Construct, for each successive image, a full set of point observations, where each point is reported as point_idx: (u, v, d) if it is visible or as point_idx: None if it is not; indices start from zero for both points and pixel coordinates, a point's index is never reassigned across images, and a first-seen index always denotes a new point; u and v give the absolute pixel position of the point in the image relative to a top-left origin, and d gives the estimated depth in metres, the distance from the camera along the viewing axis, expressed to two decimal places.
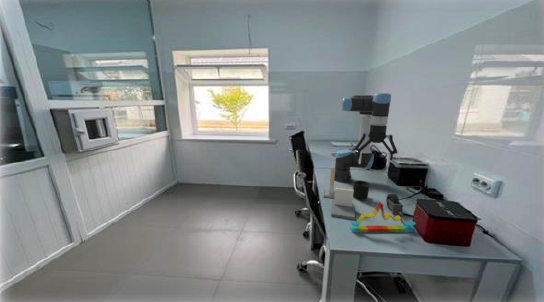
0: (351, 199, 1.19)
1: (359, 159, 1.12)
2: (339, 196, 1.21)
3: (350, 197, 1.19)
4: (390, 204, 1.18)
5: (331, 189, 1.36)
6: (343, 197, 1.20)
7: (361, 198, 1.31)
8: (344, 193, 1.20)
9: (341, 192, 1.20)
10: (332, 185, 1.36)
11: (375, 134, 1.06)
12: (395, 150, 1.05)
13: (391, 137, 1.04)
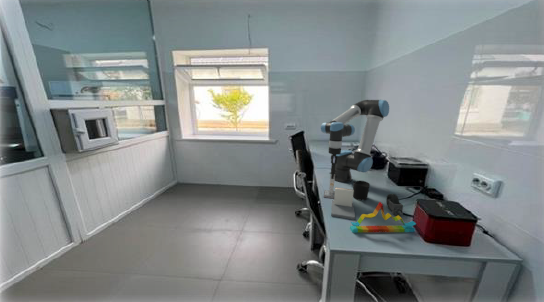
0: (351, 199, 1.19)
1: None
2: (339, 196, 1.21)
3: (350, 197, 1.19)
4: (390, 204, 1.18)
5: (331, 189, 1.36)
6: (343, 197, 1.20)
7: (361, 198, 1.31)
8: (344, 193, 1.20)
9: (341, 192, 1.20)
10: (332, 185, 1.36)
11: None
12: (331, 171, 1.31)
13: (331, 161, 1.28)
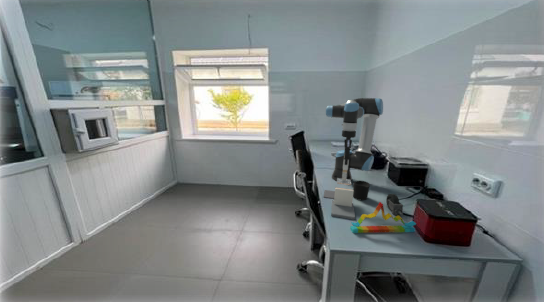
0: (351, 199, 1.19)
1: None
2: (339, 196, 1.21)
3: (350, 197, 1.19)
4: (390, 204, 1.18)
5: (344, 176, 1.26)
6: (343, 197, 1.20)
7: (361, 198, 1.31)
8: (344, 193, 1.20)
9: (341, 192, 1.20)
10: (345, 172, 1.25)
11: None
12: None
13: (346, 145, 1.17)
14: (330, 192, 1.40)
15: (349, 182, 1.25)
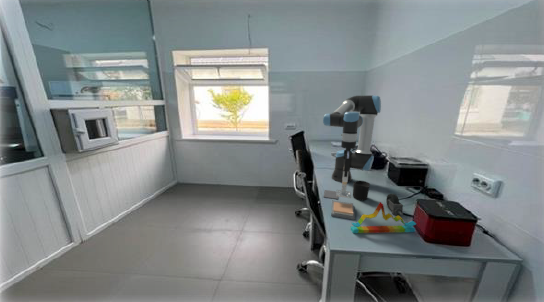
0: None
1: None
2: None
3: None
4: (390, 204, 1.18)
5: (344, 188, 1.20)
6: None
7: (361, 198, 1.31)
8: None
9: None
10: (345, 184, 1.19)
11: None
12: (344, 168, 1.14)
13: (345, 156, 1.11)
14: (330, 192, 1.40)
15: (349, 195, 1.20)
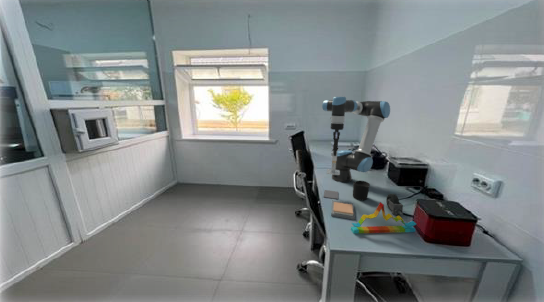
0: None
1: None
2: None
3: None
4: (390, 204, 1.18)
5: (333, 167, 1.32)
6: None
7: (361, 198, 1.31)
8: None
9: None
10: (334, 163, 1.32)
11: None
12: (333, 147, 1.27)
13: (334, 136, 1.24)
14: (330, 192, 1.40)
15: (338, 172, 1.32)
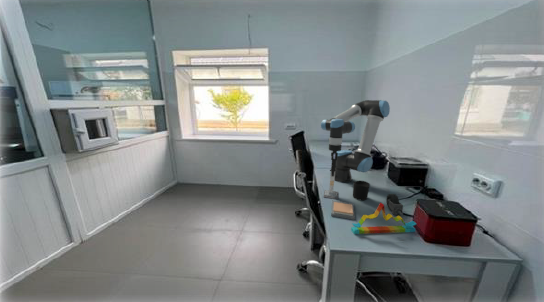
0: None
1: None
2: None
3: None
4: (390, 204, 1.18)
5: (331, 189, 1.36)
6: None
7: (361, 198, 1.31)
8: None
9: None
10: (332, 185, 1.36)
11: None
12: (331, 168, 1.28)
13: (332, 157, 1.27)
14: None
15: (335, 194, 1.36)
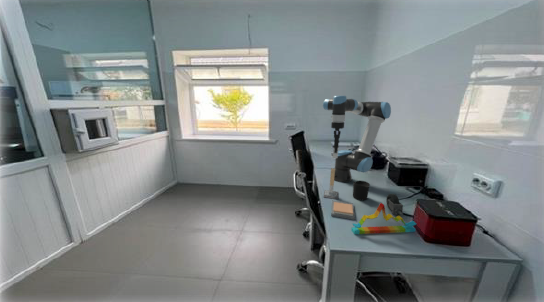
0: None
1: None
2: None
3: None
4: (390, 204, 1.18)
5: (331, 189, 1.36)
6: None
7: (361, 198, 1.31)
8: None
9: None
10: (332, 185, 1.36)
11: None
12: (334, 144, 1.23)
13: (335, 132, 1.23)
14: None
15: (335, 194, 1.36)
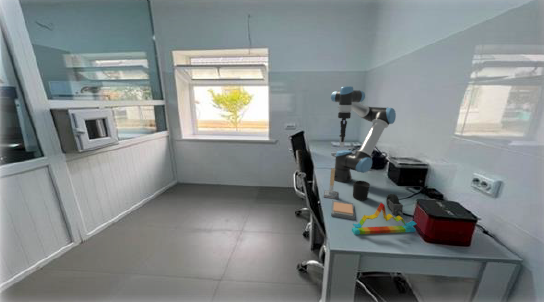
0: None
1: None
2: None
3: None
4: (390, 204, 1.18)
5: (331, 189, 1.36)
6: None
7: (361, 198, 1.31)
8: None
9: None
10: (332, 185, 1.36)
11: None
12: (341, 133, 1.27)
13: (341, 122, 1.28)
14: None
15: (335, 194, 1.36)
